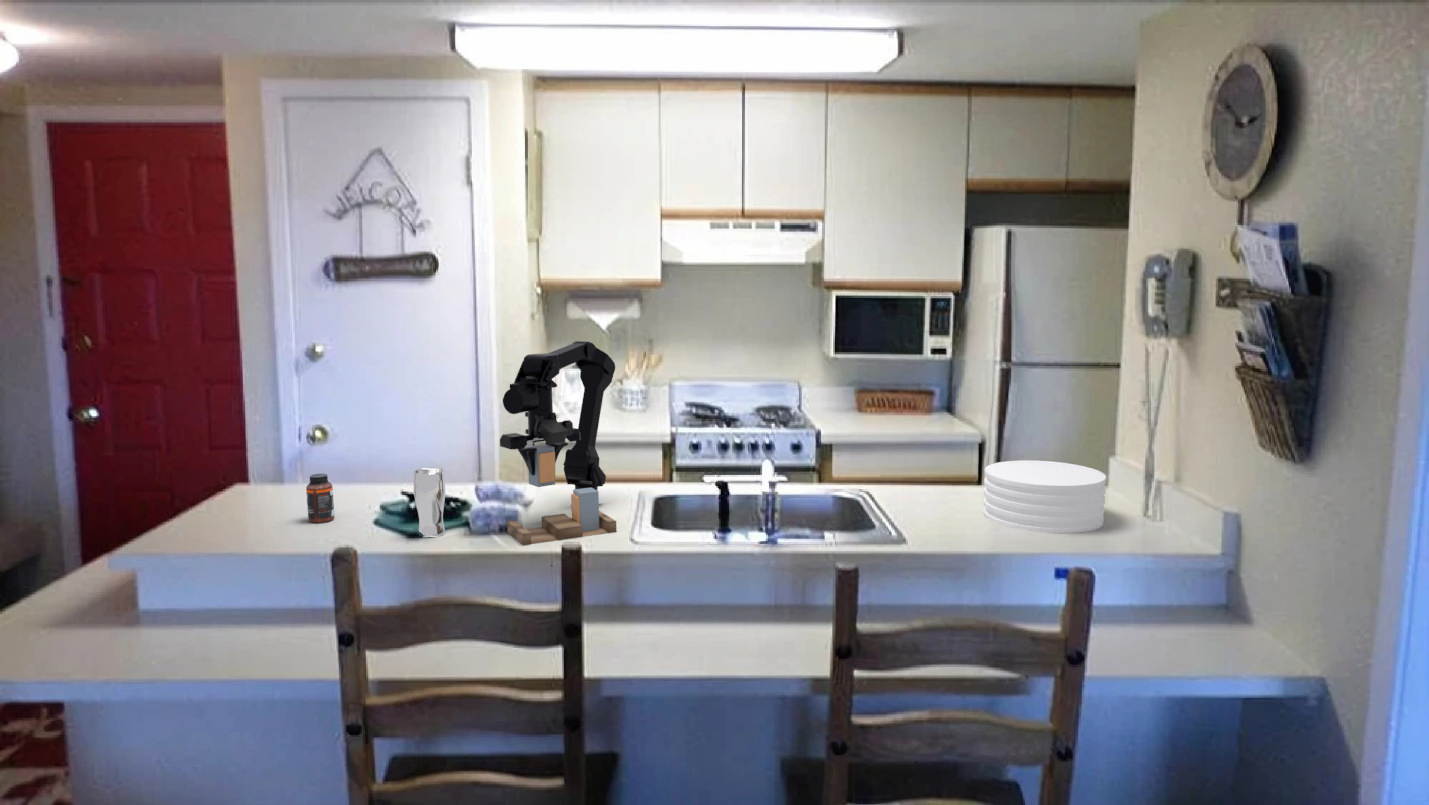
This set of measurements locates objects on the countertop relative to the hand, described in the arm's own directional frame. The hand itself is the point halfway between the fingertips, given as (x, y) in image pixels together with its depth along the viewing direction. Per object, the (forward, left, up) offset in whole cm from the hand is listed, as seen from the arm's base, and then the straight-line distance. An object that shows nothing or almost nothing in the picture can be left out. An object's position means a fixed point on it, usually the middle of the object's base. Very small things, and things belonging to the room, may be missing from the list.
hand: (541, 473), depth 230 cm
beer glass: (-6, -25, -13) cm, 29 cm away
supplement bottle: (-31, -46, -13) cm, 57 cm away
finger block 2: (+10, +7, -12) cm, 17 cm away
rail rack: (+10, +1, -13) cm, 16 cm away
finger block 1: (0, 0, -3) cm, 2 cm away
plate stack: (+51, +110, -13) cm, 122 cm away
